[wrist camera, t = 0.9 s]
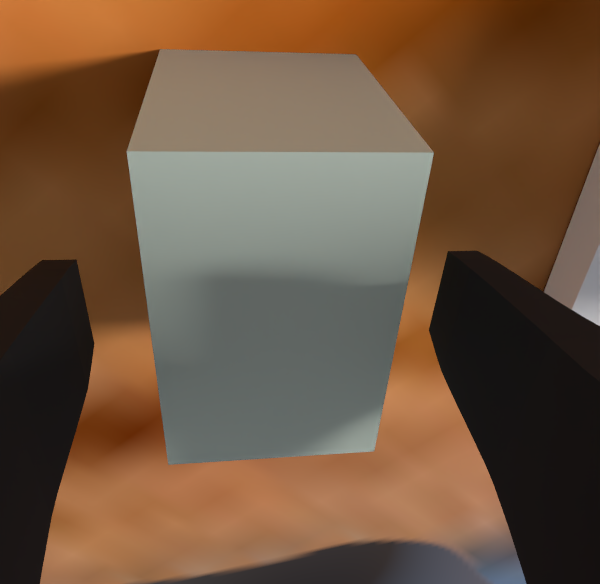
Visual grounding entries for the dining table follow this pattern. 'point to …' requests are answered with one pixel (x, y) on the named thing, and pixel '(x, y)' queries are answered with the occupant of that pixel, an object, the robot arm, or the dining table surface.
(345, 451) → the cabinet block
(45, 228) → the dining table surface
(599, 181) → the white flat plank
